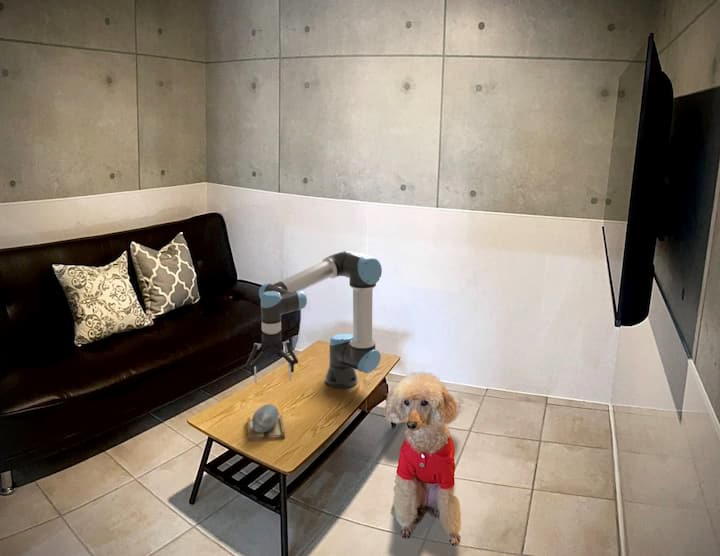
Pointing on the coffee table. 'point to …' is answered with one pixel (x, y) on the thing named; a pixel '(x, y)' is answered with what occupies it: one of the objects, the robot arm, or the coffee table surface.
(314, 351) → the coffee table surface
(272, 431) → the shallow beige tray
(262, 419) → the grey streaked ellipsoid
